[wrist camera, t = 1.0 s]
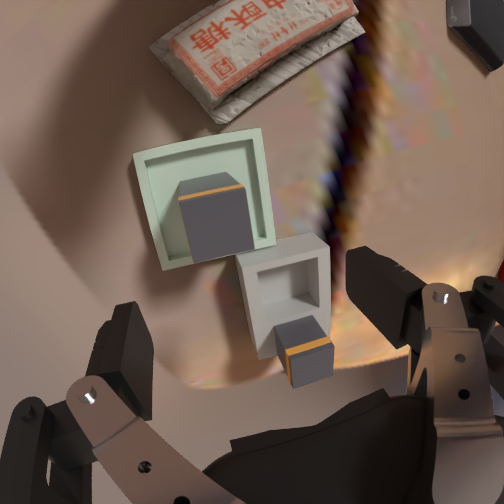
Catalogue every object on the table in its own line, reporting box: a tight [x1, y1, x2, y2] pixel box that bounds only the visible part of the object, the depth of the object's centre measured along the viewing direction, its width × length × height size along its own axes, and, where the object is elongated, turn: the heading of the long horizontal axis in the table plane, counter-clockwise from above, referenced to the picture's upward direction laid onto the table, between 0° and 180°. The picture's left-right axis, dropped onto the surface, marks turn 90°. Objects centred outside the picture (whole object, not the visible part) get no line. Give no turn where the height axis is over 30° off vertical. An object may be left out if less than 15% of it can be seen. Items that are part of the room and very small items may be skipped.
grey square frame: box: [234, 232, 334, 389], centre depth 27 cm, size 11×8×9 cm
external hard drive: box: [447, 0, 504, 72], centre depth 20 cm, size 13×19×4 cm
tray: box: [133, 128, 276, 271], centre depth 25 cm, size 11×11×2 cm
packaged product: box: [148, 0, 365, 124], centre depth 19 cm, size 18×5×10 cm
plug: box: [178, 172, 255, 263], centre depth 22 cm, size 4×4×8 cm
